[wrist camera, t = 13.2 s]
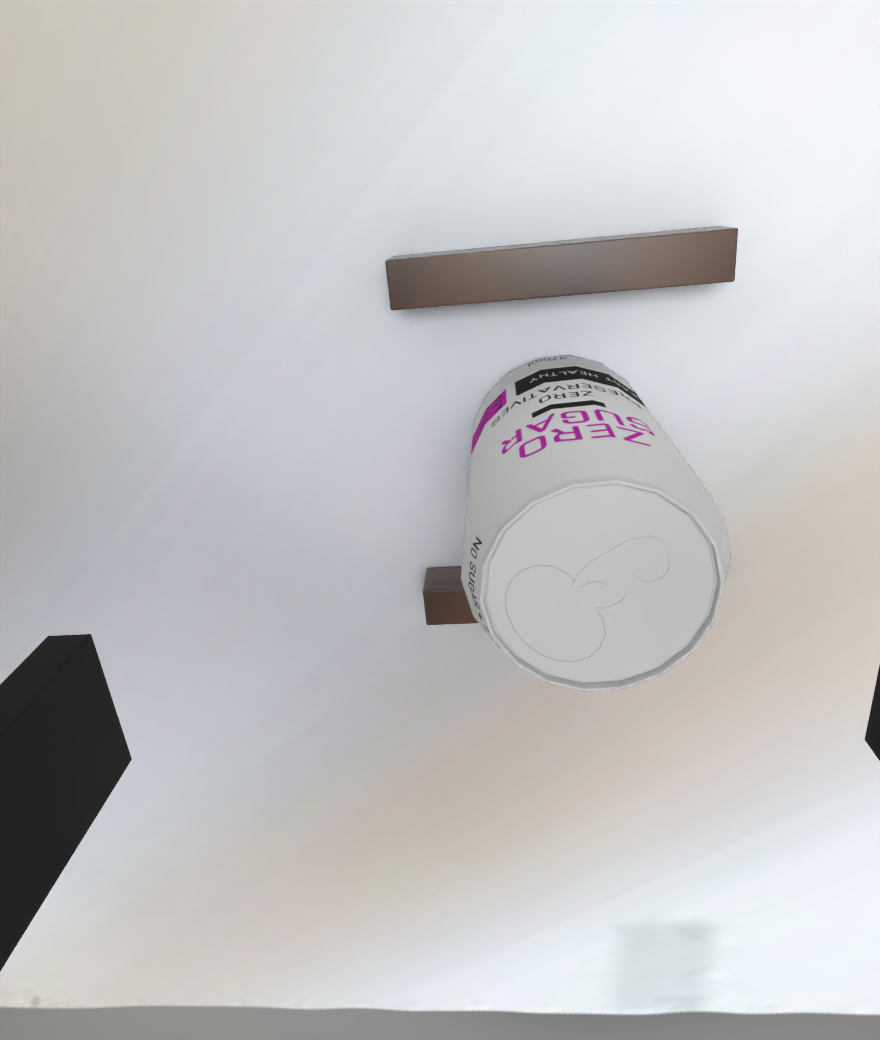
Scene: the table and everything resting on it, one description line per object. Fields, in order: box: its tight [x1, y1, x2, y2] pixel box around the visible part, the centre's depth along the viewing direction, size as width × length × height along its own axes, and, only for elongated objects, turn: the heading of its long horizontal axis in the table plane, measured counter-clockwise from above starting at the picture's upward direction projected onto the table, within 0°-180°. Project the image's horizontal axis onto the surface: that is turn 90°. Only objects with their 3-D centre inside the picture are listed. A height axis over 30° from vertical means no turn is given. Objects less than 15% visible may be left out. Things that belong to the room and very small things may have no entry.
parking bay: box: [385, 226, 738, 625], centre depth 33 cm, size 14×18×2 cm
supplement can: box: [461, 355, 731, 691], centre depth 28 cm, size 8×8×15 cm
